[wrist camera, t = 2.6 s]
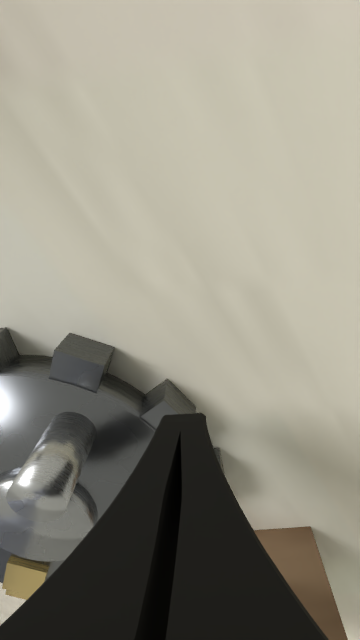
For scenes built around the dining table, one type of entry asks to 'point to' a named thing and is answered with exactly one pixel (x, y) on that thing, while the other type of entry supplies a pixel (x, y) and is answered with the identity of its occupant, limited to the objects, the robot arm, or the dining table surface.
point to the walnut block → (304, 574)
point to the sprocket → (66, 450)
